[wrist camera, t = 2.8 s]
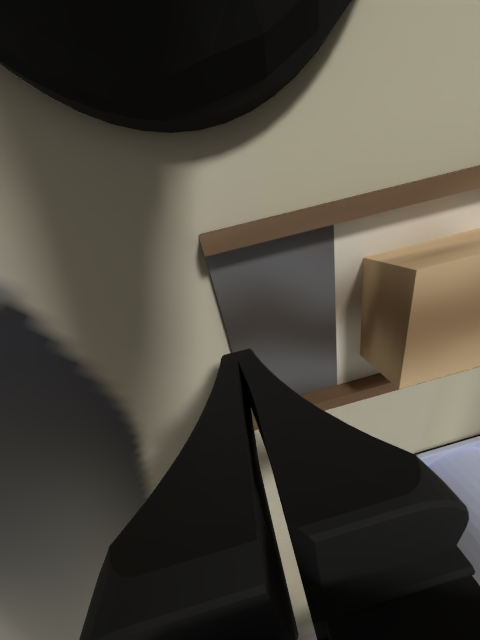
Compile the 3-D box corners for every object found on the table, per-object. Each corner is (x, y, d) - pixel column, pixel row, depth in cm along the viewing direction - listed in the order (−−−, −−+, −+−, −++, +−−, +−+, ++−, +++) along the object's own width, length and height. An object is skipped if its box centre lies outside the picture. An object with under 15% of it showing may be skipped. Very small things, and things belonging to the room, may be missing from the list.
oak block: (465, 326, 14) (529, 352, 11) (359, 355, 13) (399, 389, 11) (494, 223, 11) (588, 225, 8) (363, 257, 11) (416, 270, 8)
